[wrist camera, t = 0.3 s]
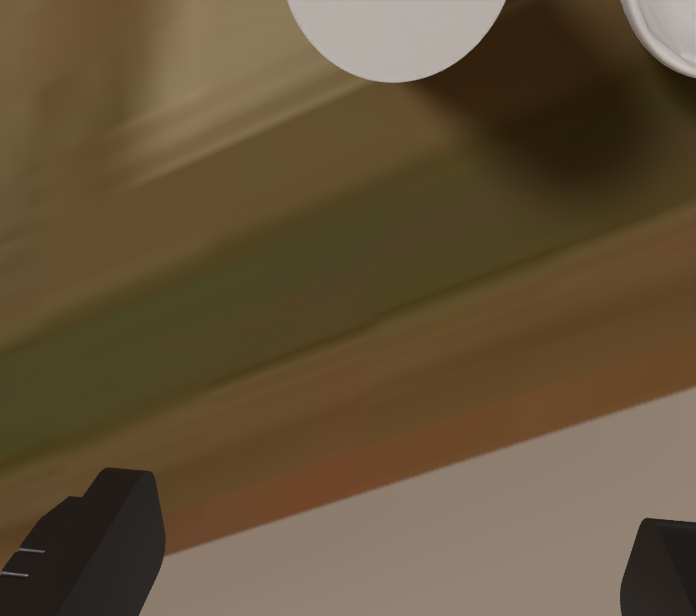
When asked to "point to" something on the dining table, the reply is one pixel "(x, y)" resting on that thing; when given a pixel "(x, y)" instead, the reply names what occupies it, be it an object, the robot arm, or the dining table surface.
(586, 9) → the dining table surface
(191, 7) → the dining table surface
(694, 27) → the ramekin
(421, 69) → the cup
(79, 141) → the dining table surface
